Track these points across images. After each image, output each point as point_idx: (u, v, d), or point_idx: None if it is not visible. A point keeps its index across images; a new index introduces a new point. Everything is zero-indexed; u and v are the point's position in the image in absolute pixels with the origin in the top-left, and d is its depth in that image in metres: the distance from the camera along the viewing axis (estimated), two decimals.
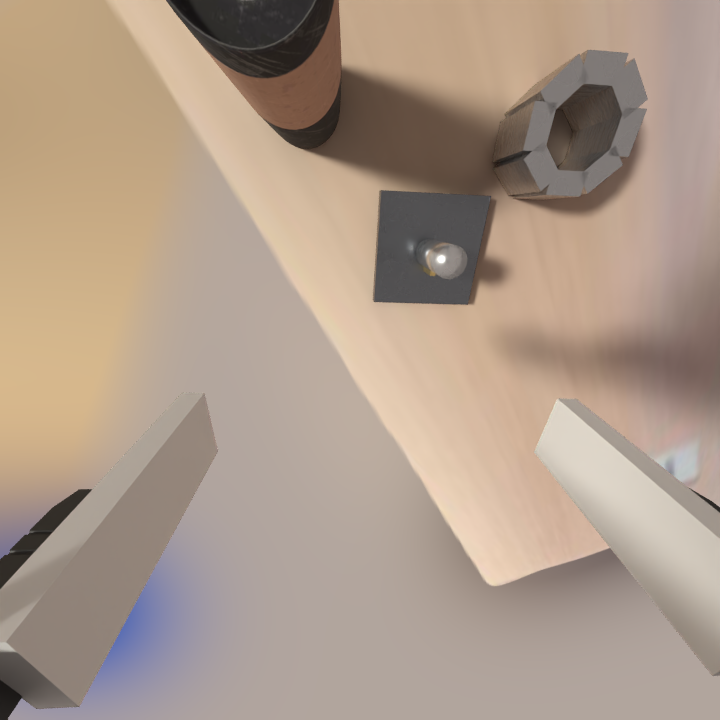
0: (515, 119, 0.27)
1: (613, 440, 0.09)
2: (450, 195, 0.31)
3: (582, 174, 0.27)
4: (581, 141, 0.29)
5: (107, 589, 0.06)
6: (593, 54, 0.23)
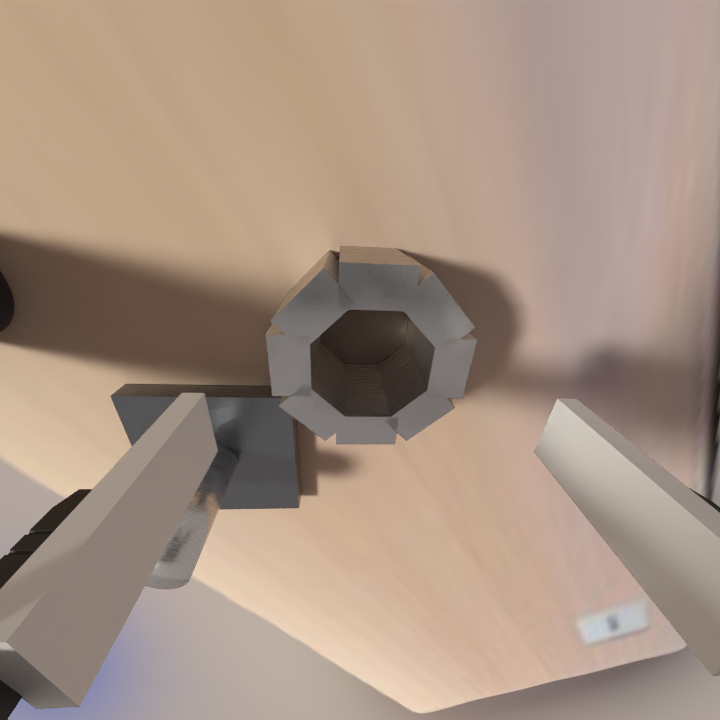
0: None
1: (613, 440, 0.09)
2: (225, 398, 0.20)
3: (389, 420, 0.16)
4: (413, 335, 0.18)
5: (107, 589, 0.06)
6: (351, 269, 0.12)
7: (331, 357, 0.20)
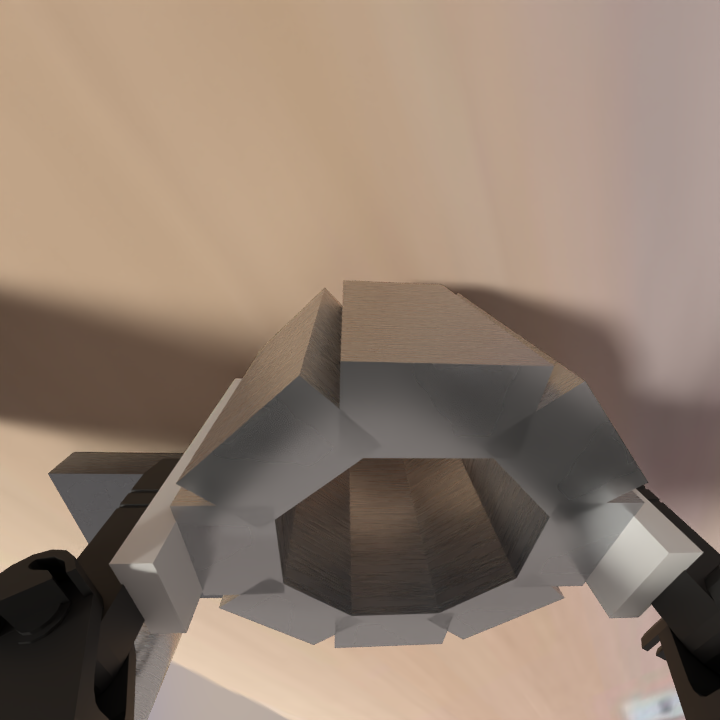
0: None
1: None
2: None
3: (435, 617, 0.08)
4: None
5: None
6: (374, 377, 0.04)
7: None
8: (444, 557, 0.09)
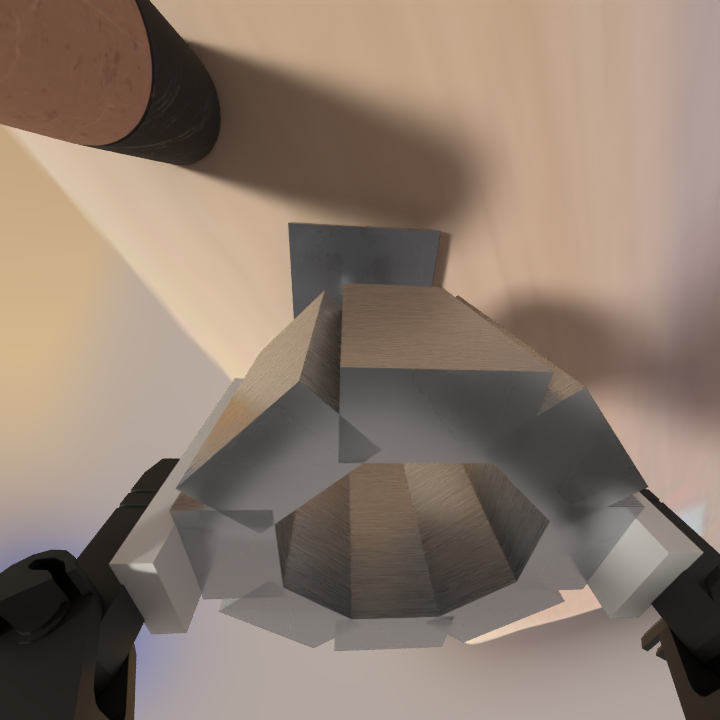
0: None
1: None
2: (385, 230, 0.23)
3: (435, 621, 0.08)
4: None
5: None
6: (374, 382, 0.04)
7: None
8: (444, 560, 0.09)
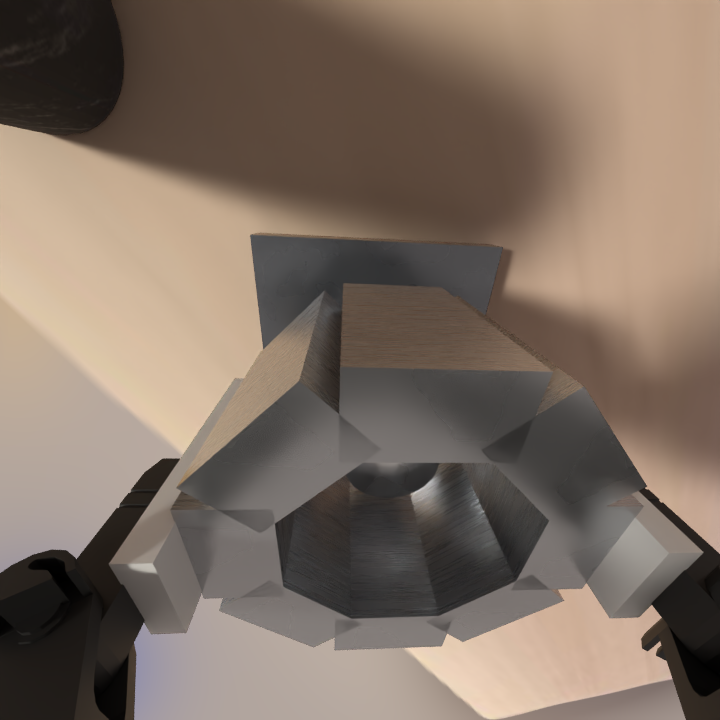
0: None
1: None
2: (411, 245, 0.14)
3: (435, 620, 0.08)
4: None
5: None
6: (374, 382, 0.04)
7: None
8: (444, 560, 0.09)
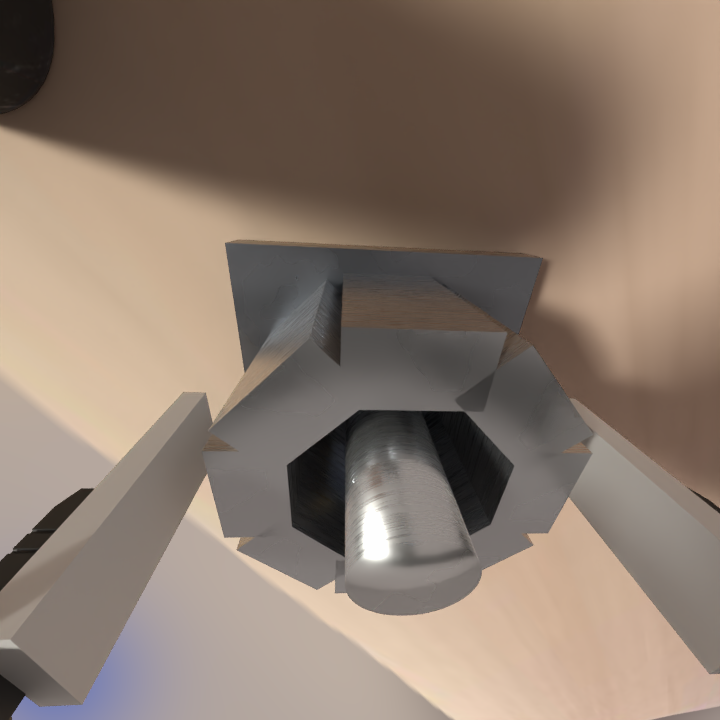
0: None
1: (611, 439, 0.09)
2: (429, 256, 0.11)
3: None
4: None
5: (110, 587, 0.06)
6: (367, 340, 0.06)
7: None
8: None
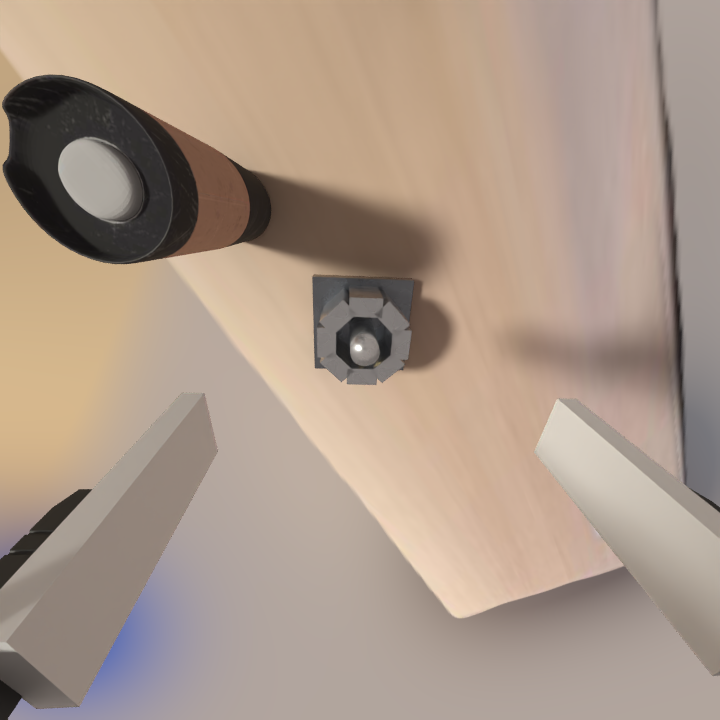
0: None
1: (613, 440, 0.09)
2: (376, 280, 0.34)
3: (372, 371, 0.32)
4: (386, 330, 0.35)
5: (107, 589, 0.06)
6: (354, 300, 0.29)
7: (343, 343, 0.36)
8: None
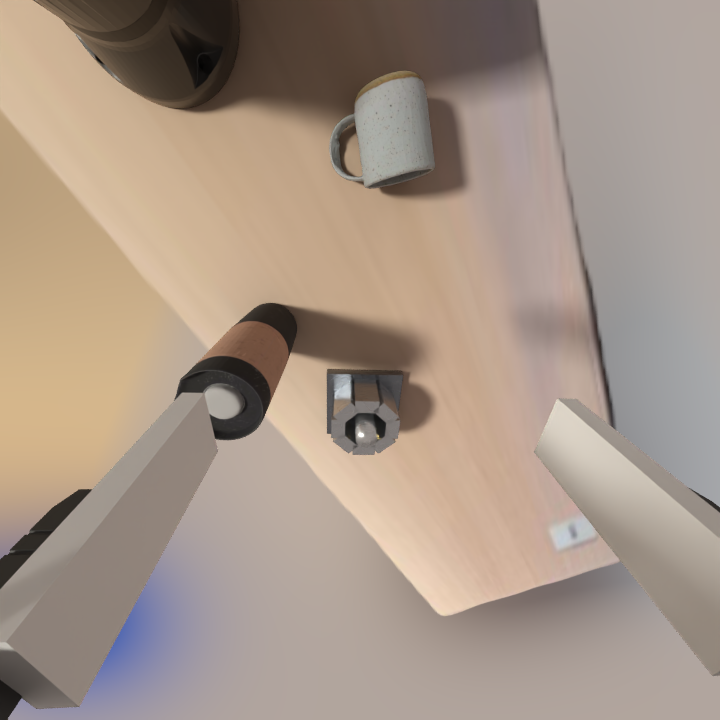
0: None
1: (613, 440, 0.09)
2: (375, 375, 0.45)
3: (371, 446, 0.44)
4: None
5: (107, 589, 0.06)
6: (359, 402, 0.40)
7: None
8: None
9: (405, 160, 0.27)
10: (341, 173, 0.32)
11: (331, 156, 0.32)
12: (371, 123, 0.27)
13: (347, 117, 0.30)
